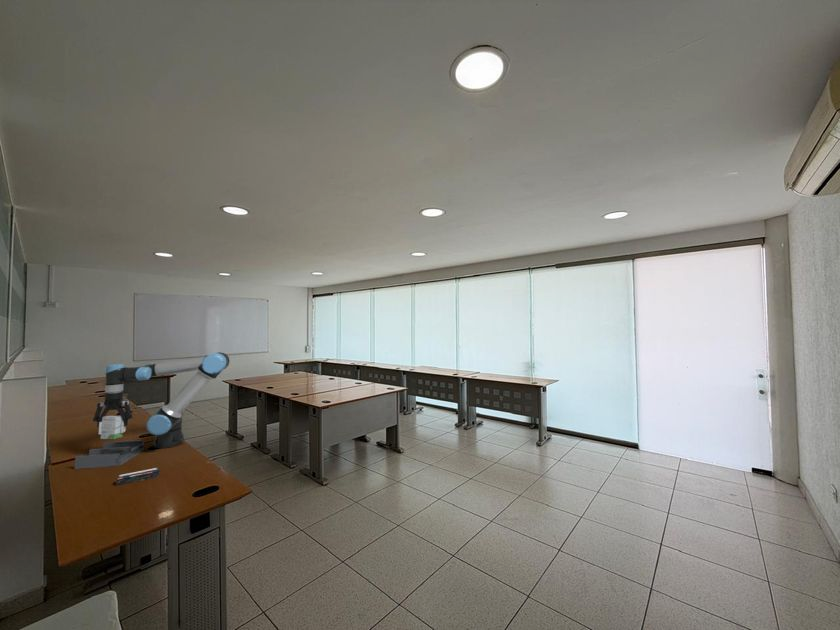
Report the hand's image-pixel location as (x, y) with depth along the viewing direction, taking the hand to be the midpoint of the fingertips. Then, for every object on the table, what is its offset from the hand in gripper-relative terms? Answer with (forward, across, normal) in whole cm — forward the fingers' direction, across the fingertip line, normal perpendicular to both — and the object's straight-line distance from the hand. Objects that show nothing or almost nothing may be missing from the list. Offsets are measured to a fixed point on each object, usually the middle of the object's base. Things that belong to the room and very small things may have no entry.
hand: (112, 432), depth 182 cm
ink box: (+3, 0, 0) cm, 3 cm away
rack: (+13, -2, +5) cm, 14 cm away
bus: (+14, -28, +38) cm, 49 cm away
